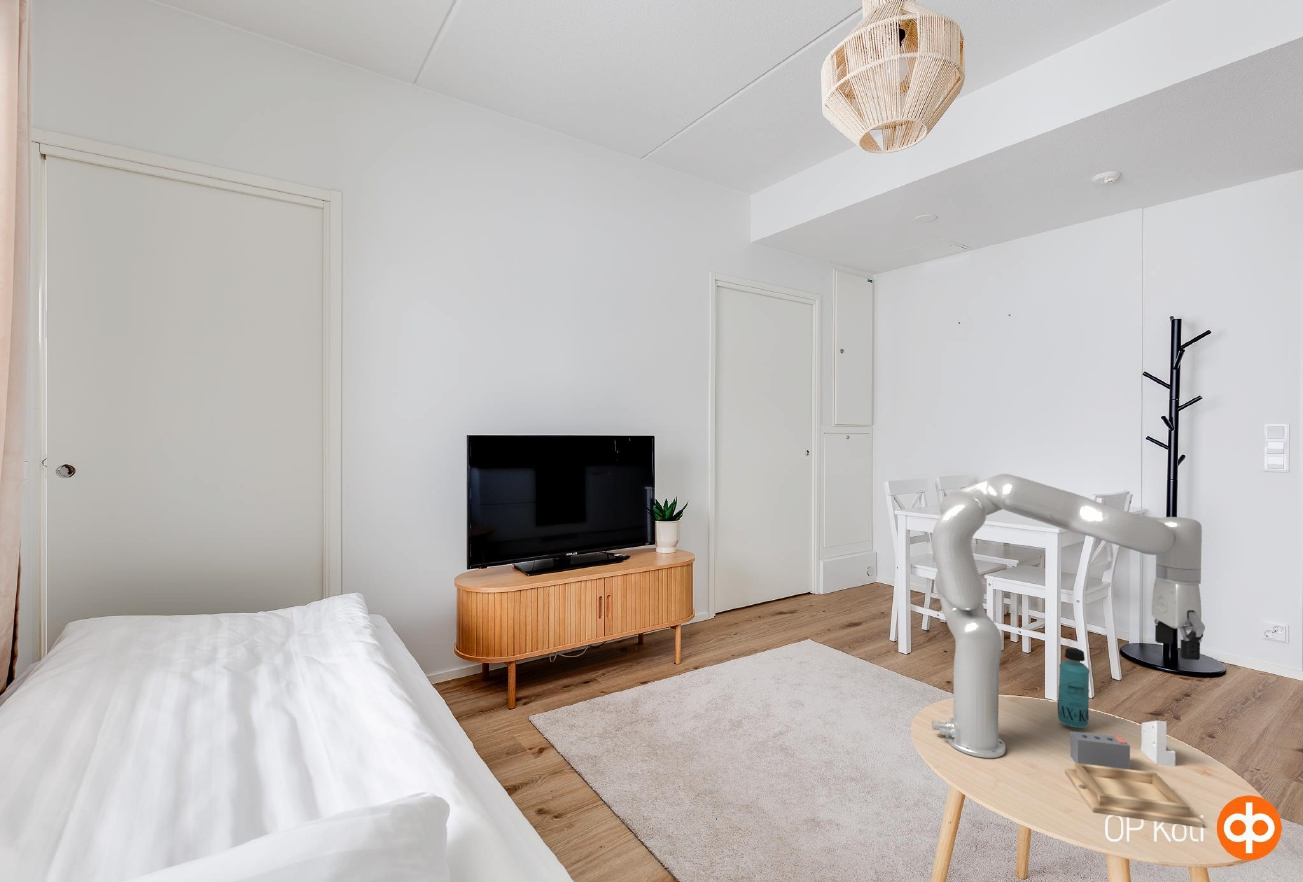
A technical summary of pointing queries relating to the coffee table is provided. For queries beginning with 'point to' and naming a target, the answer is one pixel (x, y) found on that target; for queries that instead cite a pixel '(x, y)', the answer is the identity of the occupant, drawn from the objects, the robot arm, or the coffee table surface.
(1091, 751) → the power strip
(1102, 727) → the coffee table surface
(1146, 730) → the white wedge bracket
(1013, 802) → the coffee table surface
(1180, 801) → the wooden tray
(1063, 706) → the beverage bottle
